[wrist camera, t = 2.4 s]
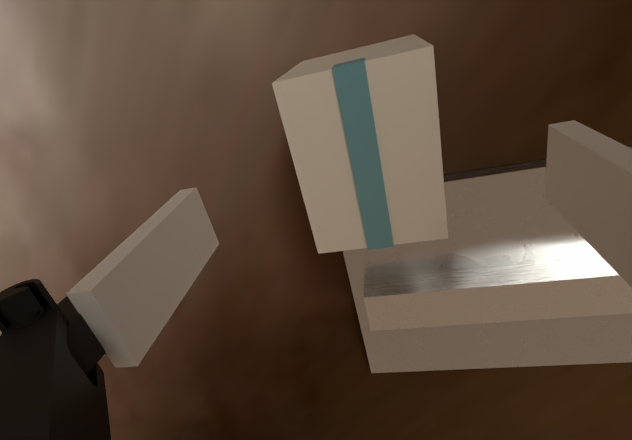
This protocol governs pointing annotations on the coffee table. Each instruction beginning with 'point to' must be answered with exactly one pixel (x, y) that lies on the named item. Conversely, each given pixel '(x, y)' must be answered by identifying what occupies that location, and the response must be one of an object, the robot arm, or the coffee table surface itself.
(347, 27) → the coffee table surface
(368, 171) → the block
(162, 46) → the coffee table surface
